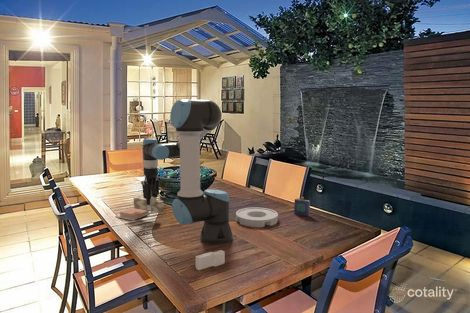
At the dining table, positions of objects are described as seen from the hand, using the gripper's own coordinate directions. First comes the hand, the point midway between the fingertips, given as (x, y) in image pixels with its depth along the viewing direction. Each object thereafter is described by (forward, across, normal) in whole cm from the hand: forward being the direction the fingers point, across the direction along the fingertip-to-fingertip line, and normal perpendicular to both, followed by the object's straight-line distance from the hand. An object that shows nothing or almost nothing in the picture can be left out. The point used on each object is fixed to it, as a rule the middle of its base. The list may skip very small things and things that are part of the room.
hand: (151, 209), depth 192 cm
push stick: (+1, 0, -2) cm, 2 cm away
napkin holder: (+6, +35, +57) cm, 67 cm away
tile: (+4, 0, -6) cm, 7 cm away
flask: (+6, -45, +72) cm, 85 cm away
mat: (+6, -2, -14) cm, 15 cm away
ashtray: (+6, -25, +52) cm, 58 cm away
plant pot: (+6, -33, -27) cm, 43 cm away
